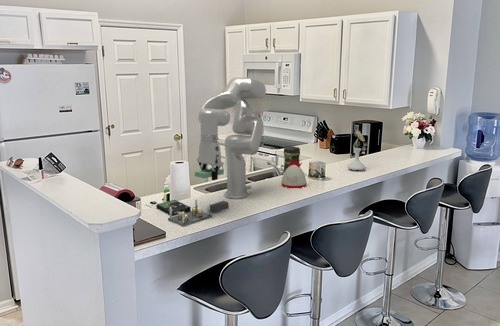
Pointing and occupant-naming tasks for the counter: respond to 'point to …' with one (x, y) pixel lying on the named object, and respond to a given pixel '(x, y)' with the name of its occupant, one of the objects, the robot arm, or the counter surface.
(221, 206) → the block
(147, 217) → the counter surface
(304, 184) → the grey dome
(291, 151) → the coffee jar
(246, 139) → the robot arm
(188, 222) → the chassis
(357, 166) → the flower in vase
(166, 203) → the disk drive
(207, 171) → the board
